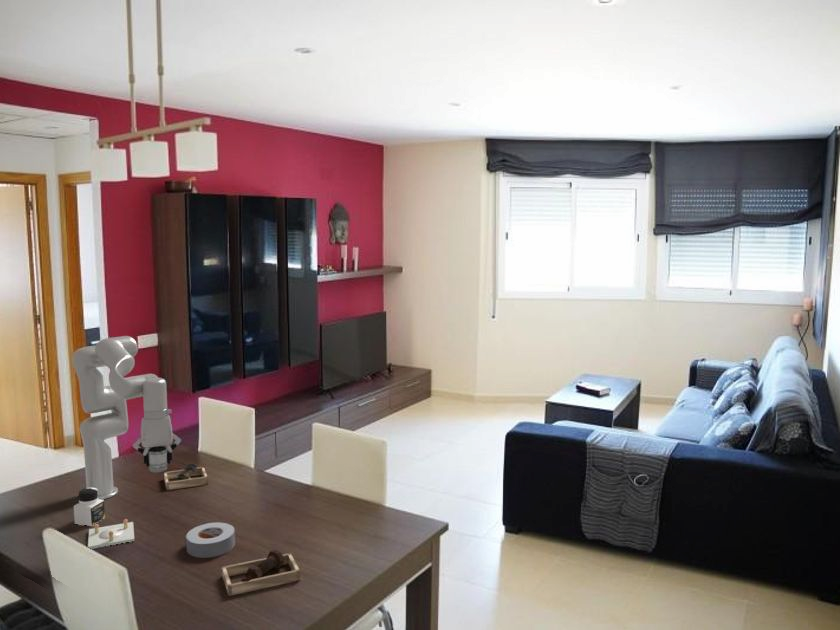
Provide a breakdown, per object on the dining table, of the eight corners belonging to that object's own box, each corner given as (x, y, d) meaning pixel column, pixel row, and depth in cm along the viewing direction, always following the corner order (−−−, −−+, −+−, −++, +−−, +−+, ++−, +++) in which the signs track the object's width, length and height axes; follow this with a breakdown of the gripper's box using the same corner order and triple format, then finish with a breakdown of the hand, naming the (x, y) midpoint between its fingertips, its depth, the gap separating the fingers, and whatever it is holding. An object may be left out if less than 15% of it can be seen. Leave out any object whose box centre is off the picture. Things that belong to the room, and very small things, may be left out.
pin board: (89, 531, 228) (88, 520, 227) (133, 524, 234) (132, 513, 233) (88, 549, 215) (87, 537, 215) (134, 541, 221) (133, 529, 221)
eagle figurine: (196, 481, 270) (201, 470, 279) (185, 469, 268) (190, 458, 276) (181, 491, 271) (186, 479, 279) (170, 479, 268) (175, 467, 277)
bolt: (242, 592, 193) (276, 568, 206) (253, 588, 190) (286, 563, 203) (234, 574, 193) (268, 550, 206) (245, 570, 191) (278, 546, 204)
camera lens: (156, 474, 225) (155, 452, 224) (144, 470, 228) (143, 448, 227) (171, 468, 230) (171, 447, 229) (160, 464, 234) (159, 443, 233)
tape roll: (190, 562, 208) (189, 547, 207) (183, 542, 221) (182, 527, 221) (239, 551, 215) (239, 537, 214) (229, 532, 228) (229, 518, 228)
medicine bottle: (92, 526, 232) (90, 494, 230) (74, 524, 233) (72, 492, 232) (105, 518, 239) (103, 486, 237) (88, 516, 240) (86, 484, 239)
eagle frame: (164, 479, 276) (163, 472, 275) (204, 473, 282) (203, 466, 282) (166, 490, 264) (166, 483, 263) (208, 484, 271) (207, 477, 270)
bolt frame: (222, 576, 200) (221, 566, 199) (290, 561, 208) (290, 552, 208) (228, 596, 189) (228, 586, 188) (300, 580, 198) (300, 570, 197)
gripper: (181, 408, 234) (183, 457, 236) (128, 413, 226) (130, 463, 229) (183, 414, 227) (185, 464, 229) (128, 419, 220) (131, 471, 222)
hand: (158, 463), depth 229 cm, fingers closed on camera lens, 6 cm apart
